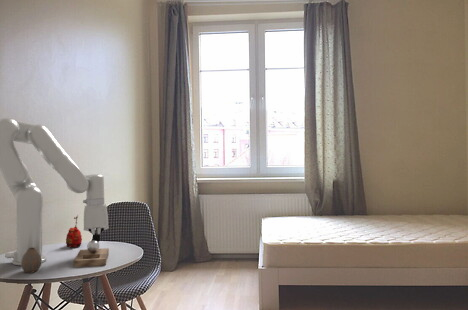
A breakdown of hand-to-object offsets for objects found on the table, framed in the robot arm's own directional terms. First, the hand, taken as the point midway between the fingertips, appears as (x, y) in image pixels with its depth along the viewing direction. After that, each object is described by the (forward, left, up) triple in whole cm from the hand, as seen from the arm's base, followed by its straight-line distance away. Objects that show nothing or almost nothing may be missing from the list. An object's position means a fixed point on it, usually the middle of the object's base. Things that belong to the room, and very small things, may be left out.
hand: (96, 242), depth 181 cm
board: (-1, -11, -5) cm, 12 cm away
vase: (-22, -22, -5) cm, 31 cm away
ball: (-1, -8, 0) cm, 8 cm away
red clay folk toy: (-12, +16, -5) cm, 20 cm away
